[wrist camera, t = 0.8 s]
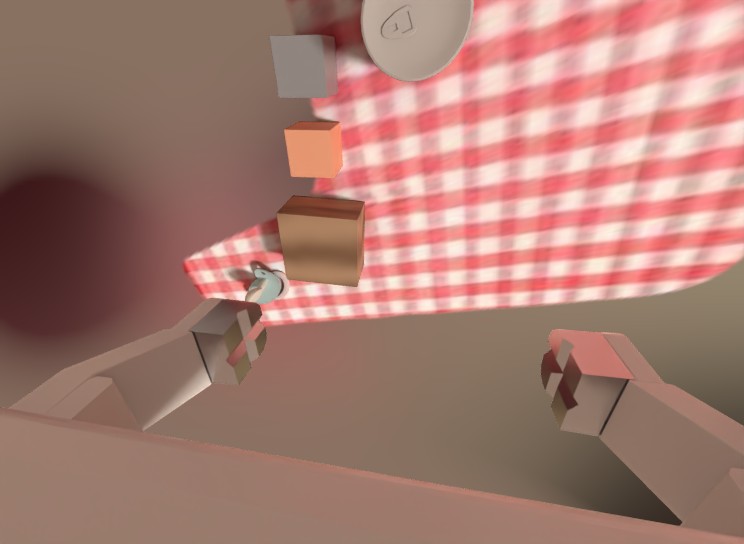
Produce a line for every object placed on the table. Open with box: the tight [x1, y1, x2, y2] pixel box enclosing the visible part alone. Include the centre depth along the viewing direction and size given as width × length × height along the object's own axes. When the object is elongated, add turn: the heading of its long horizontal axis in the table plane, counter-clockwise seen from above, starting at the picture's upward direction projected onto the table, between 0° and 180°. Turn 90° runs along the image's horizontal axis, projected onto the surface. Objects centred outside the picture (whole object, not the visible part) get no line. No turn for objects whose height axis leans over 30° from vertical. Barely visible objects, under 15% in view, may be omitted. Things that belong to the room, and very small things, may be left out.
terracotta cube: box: [284, 122, 343, 178], centre depth 37 cm, size 5×5×5 cm
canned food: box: [361, 0, 474, 82], centre depth 26 cm, size 8×8×11 cm
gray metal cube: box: [269, 35, 338, 98], centre depth 32 cm, size 5×5×5 cm
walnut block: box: [277, 195, 365, 287], centre depth 43 cm, size 10×10×6 cm
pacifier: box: [245, 268, 289, 304], centre depth 50 cm, size 7×6×6 cm
